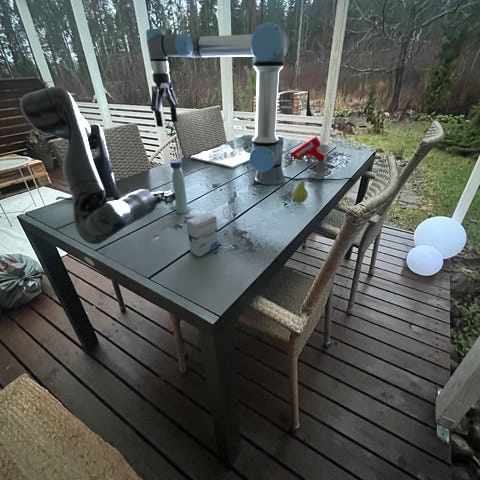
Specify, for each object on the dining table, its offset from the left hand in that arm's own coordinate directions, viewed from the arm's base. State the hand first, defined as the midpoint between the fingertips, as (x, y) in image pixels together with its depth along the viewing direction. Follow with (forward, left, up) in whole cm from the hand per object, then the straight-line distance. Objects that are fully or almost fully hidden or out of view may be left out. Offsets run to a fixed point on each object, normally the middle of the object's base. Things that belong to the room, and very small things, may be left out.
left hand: (160, 192), depth 92 cm
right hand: (-20, +53, +13) cm, 58 cm away
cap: (-1, +17, +5) cm, 18 cm away
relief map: (-4, +97, -15) cm, 98 cm away
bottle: (-1, +17, -15) cm, 23 cm away
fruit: (+47, +36, -15) cm, 61 cm away
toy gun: (+50, +100, -15) cm, 113 cm away
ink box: (+17, -8, -15) cm, 24 cm away
